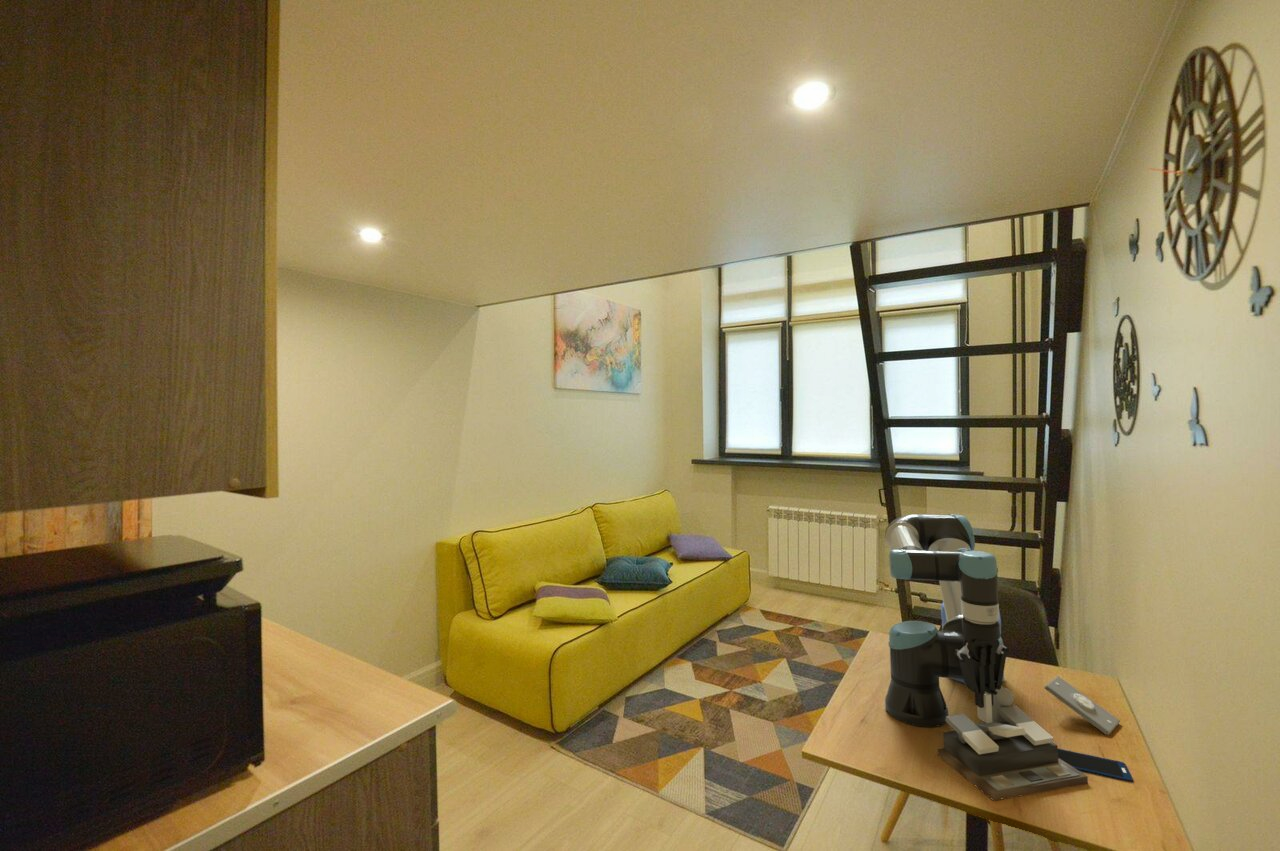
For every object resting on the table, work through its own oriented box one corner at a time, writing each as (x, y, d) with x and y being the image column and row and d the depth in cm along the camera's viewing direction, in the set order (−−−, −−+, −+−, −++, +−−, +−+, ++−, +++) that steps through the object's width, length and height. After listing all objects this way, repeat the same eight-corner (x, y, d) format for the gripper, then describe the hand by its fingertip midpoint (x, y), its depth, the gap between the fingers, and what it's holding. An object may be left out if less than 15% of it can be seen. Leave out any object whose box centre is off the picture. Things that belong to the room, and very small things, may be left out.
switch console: (937, 755, 127) (936, 732, 127) (1022, 741, 131) (1021, 719, 131) (993, 800, 111) (992, 774, 111) (1087, 783, 115) (1086, 758, 115)
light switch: (1112, 730, 131) (1047, 682, 141) (1098, 746, 133) (1036, 698, 143) (1122, 718, 136) (1059, 673, 146) (1109, 734, 138) (1048, 688, 148)
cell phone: (1134, 784, 114) (1134, 781, 114) (1052, 766, 121) (1052, 762, 121) (1125, 765, 121) (1125, 762, 121) (1047, 749, 128) (1047, 746, 128)
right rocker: (996, 717, 129) (998, 708, 129) (1013, 714, 130) (1015, 705, 130) (1033, 750, 120) (1035, 741, 119) (1051, 747, 121) (1053, 737, 120)
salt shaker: (997, 741, 133) (1006, 707, 127) (976, 721, 137) (984, 688, 131) (1014, 730, 134) (1024, 696, 128) (992, 711, 139) (1001, 678, 133)
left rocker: (944, 726, 127) (946, 716, 126) (962, 723, 128) (964, 713, 127) (978, 760, 117) (979, 749, 117) (997, 756, 118) (999, 746, 117)
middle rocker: (975, 736, 127) (972, 723, 128) (993, 733, 128) (990, 721, 128) (1009, 744, 118) (1005, 731, 118) (1028, 741, 118) (1024, 728, 119)
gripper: (968, 627, 122) (973, 732, 122) (1018, 621, 124) (1022, 724, 124) (944, 616, 130) (948, 715, 129) (991, 611, 132) (995, 708, 132)
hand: (984, 719), depth 127 cm, fingers closed
